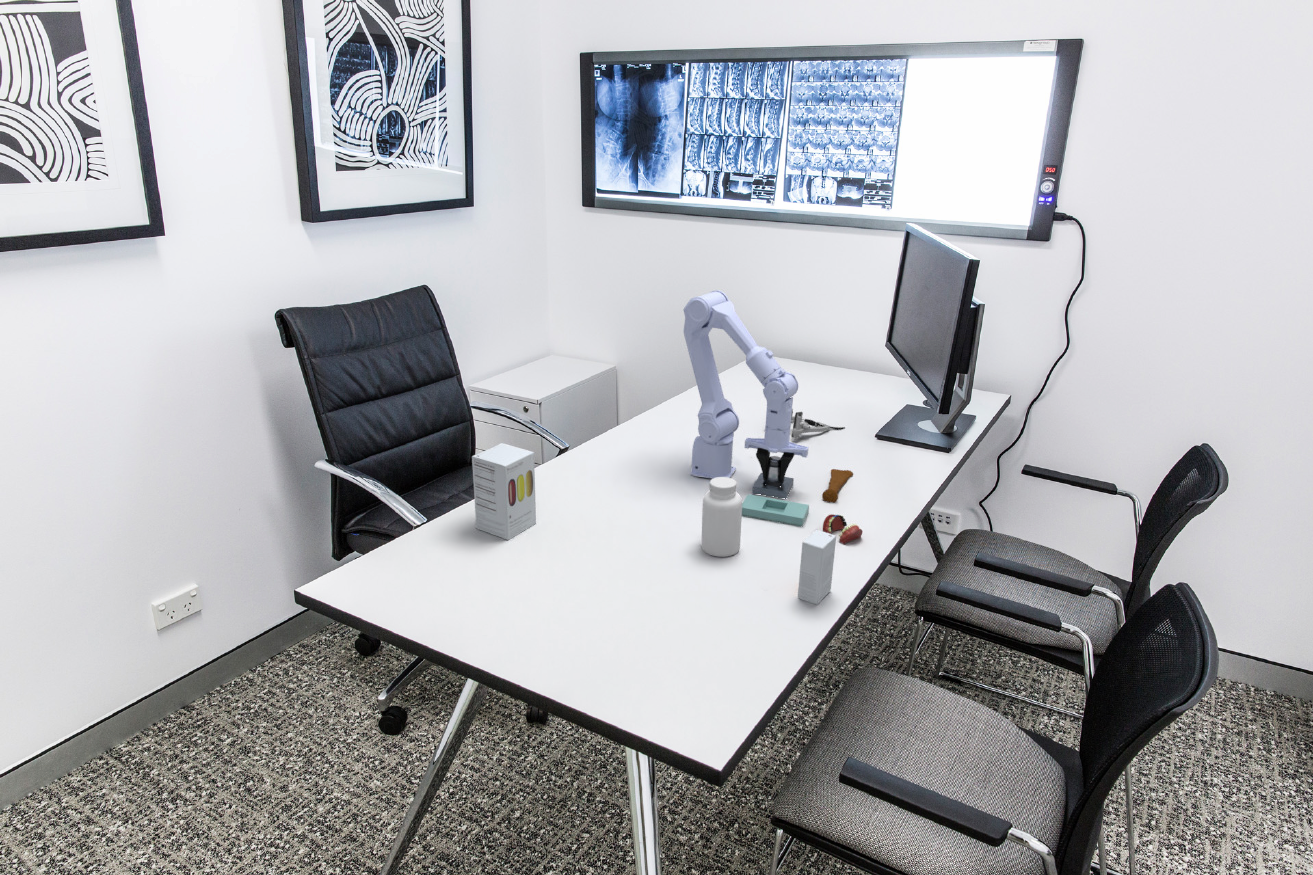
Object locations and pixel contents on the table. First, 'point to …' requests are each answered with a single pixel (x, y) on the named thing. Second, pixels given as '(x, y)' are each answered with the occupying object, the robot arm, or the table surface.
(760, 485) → the socket block
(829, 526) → the dentures
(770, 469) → the glass vial
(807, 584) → the skincare box
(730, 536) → the pill bottle
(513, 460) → the supplement box
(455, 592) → the table surface
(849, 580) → the table surface
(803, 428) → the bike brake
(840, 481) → the primitive tool
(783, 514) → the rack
